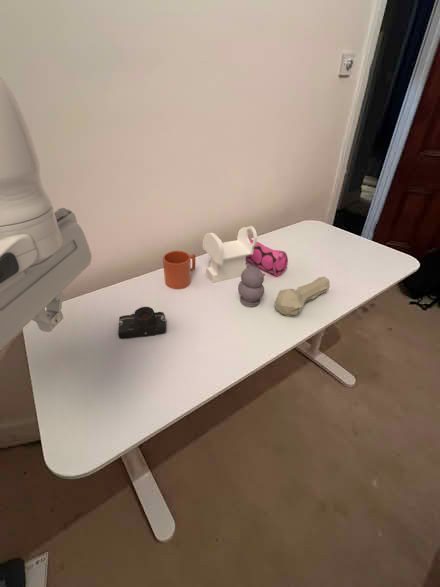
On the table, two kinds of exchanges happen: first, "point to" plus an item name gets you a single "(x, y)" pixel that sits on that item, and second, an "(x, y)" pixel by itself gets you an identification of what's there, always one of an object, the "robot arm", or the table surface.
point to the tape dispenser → (228, 254)
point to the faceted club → (300, 296)
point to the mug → (178, 269)
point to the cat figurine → (251, 286)
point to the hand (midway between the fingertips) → (52, 324)
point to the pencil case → (268, 259)
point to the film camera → (141, 324)
